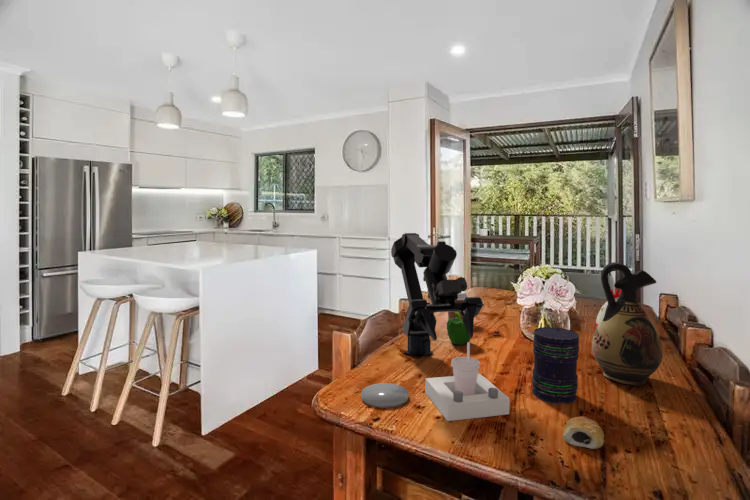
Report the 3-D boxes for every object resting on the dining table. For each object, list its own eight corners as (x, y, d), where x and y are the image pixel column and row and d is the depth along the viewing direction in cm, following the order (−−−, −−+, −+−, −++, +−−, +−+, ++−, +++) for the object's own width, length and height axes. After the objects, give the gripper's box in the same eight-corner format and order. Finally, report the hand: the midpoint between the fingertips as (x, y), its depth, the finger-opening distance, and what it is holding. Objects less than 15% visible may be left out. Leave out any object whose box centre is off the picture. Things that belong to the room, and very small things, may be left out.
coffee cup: (444, 324, 160) (445, 293, 159) (444, 318, 169) (445, 289, 168) (469, 325, 159) (469, 294, 158) (467, 319, 168) (468, 290, 167)
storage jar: (574, 408, 91) (576, 341, 90) (527, 397, 96) (529, 335, 95) (579, 391, 100) (581, 330, 98) (536, 383, 105) (538, 325, 103)
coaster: (351, 396, 97) (351, 392, 97) (385, 383, 105) (385, 379, 105) (383, 412, 89) (383, 408, 89) (418, 397, 97) (418, 393, 96)
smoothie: (480, 410, 90) (481, 347, 89) (450, 408, 91) (451, 345, 90) (478, 397, 96) (480, 338, 95) (450, 395, 98) (451, 337, 96)
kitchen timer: (590, 323, 162) (592, 285, 160) (628, 324, 160) (630, 286, 159) (604, 333, 148) (606, 291, 147) (646, 334, 146) (649, 292, 145)
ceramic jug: (649, 371, 113) (656, 261, 110) (669, 394, 98) (677, 268, 95) (580, 363, 118) (584, 259, 115) (589, 384, 104) (594, 265, 101)
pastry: (568, 422, 85) (569, 404, 85) (606, 431, 82) (607, 413, 81) (561, 443, 78) (562, 424, 77) (602, 455, 74) (603, 434, 74)
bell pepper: (474, 346, 133) (475, 316, 132) (449, 346, 133) (449, 316, 132) (469, 339, 142) (469, 310, 141) (445, 339, 142) (445, 310, 141)
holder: (425, 392, 99) (425, 372, 99) (479, 387, 102) (479, 367, 102) (447, 421, 86) (447, 397, 85) (509, 414, 88) (509, 391, 88)
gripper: (410, 267, 101) (424, 323, 91) (480, 265, 105) (502, 318, 95) (401, 293, 110) (413, 347, 100) (467, 290, 113) (485, 342, 104)
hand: (453, 338), depth 99 cm, fingers open, 9 cm apart
